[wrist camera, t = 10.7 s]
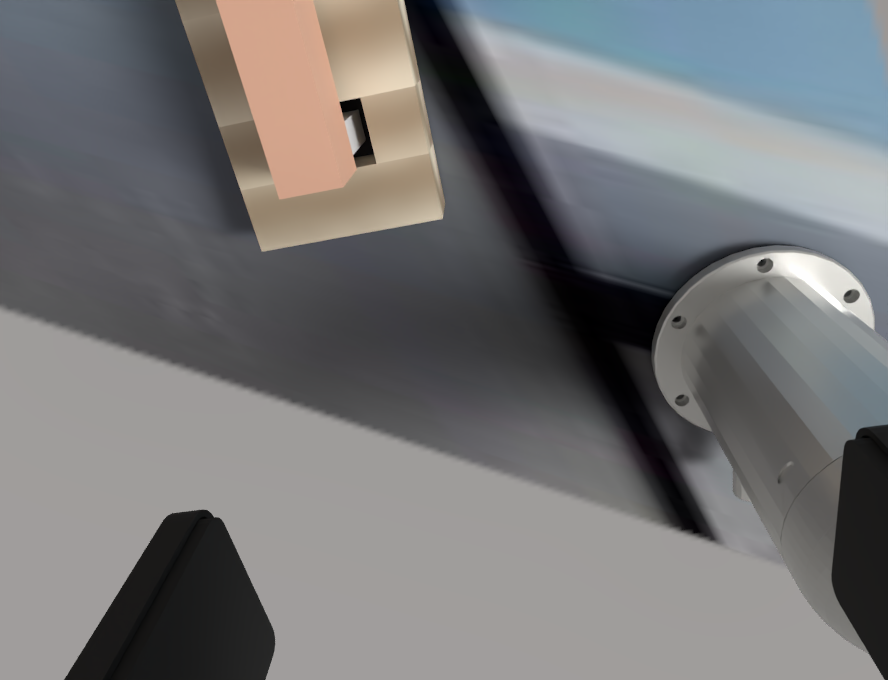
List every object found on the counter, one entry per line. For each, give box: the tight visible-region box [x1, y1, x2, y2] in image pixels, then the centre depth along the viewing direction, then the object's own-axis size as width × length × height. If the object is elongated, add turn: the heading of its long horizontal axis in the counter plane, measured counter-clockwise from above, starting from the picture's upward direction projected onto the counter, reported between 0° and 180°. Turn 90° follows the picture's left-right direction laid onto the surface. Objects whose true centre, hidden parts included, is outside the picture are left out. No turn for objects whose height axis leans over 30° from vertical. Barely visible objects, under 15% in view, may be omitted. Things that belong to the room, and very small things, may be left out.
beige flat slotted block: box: [175, 0, 445, 252], centre depth 31 cm, size 18×10×3 cm, turn 11°
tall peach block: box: [216, 0, 366, 200], centre depth 29 cm, size 11×3×8 cm, turn 11°
